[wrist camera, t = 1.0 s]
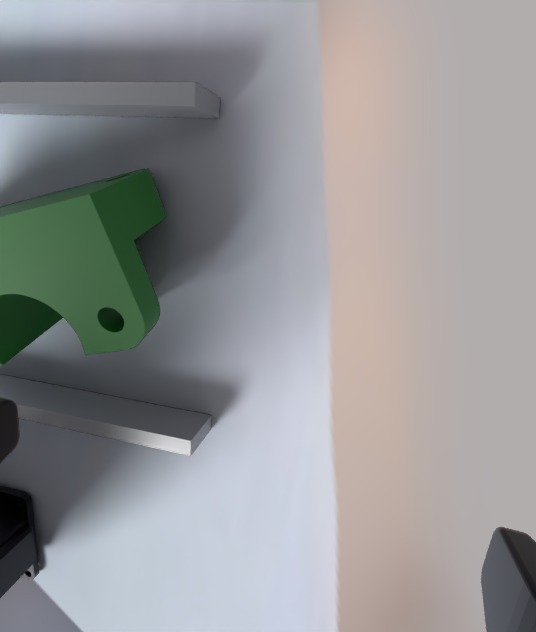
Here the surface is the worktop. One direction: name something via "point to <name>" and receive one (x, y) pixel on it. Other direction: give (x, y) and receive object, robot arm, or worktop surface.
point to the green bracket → (79, 265)
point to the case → (78, 405)
